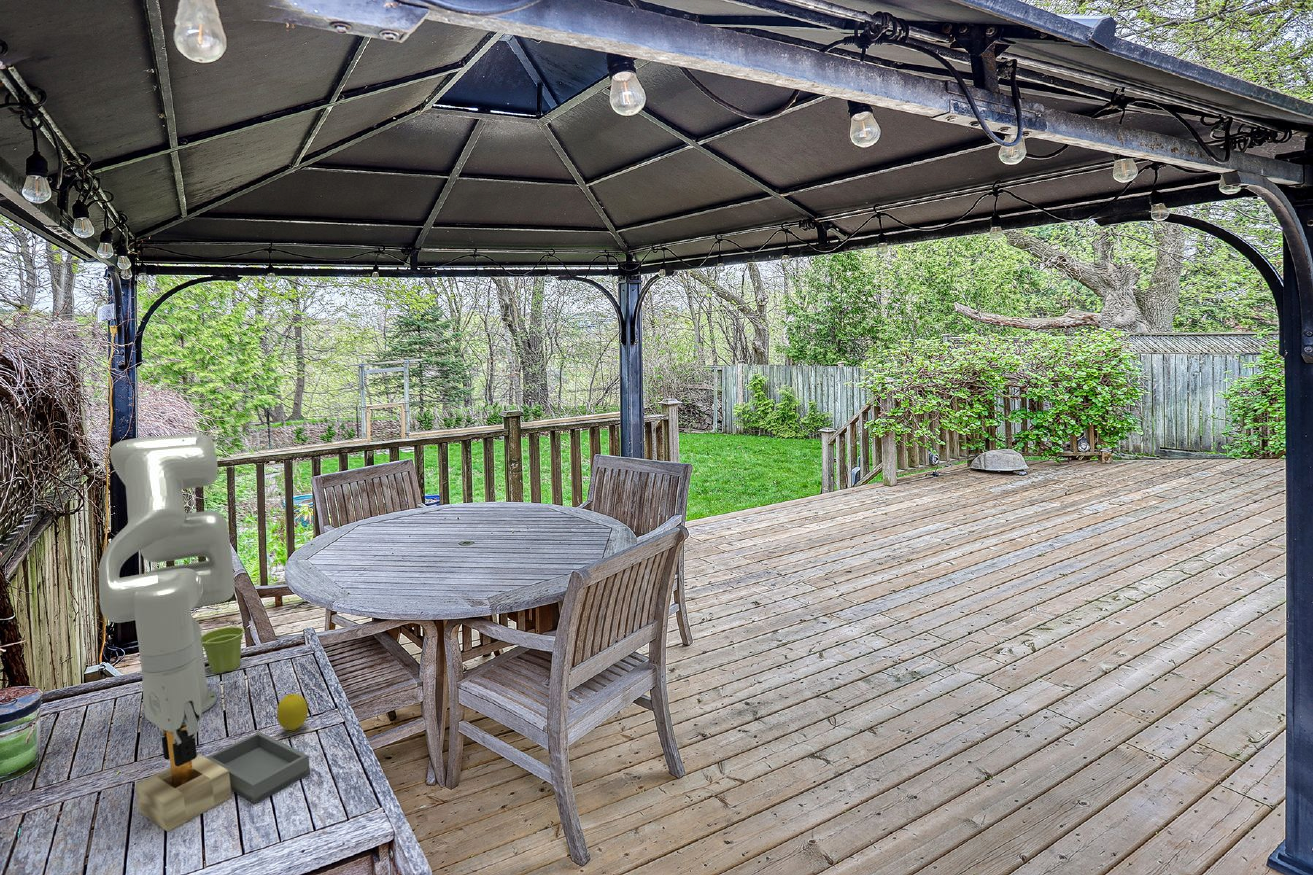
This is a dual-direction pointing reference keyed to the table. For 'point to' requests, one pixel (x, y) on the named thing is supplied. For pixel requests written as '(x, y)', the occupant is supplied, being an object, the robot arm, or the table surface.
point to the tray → (261, 766)
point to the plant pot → (223, 648)
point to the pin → (181, 772)
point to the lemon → (292, 711)
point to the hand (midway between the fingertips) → (180, 757)
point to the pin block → (183, 794)
